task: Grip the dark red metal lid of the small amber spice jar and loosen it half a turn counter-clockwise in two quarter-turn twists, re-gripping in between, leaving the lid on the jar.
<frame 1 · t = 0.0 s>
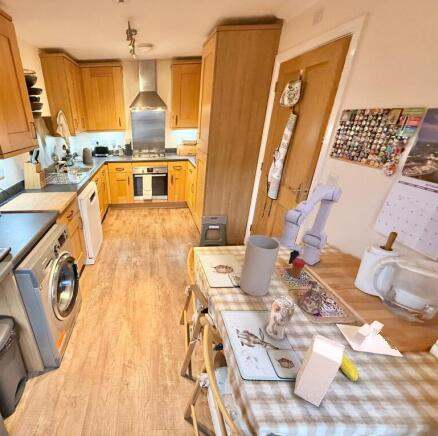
hand: (282, 259, 112), 10 cm above the table, tool pointing down, fingers open, 7 cm apart
spice jar: (294, 275, 117), on the table
cylinder vase: (252, 288, 109), on the table
figurine: (308, 307, 98), on the table
beer glass: (274, 332, 87), on the table
napkin holder: (367, 339, 84), on the table
lemon: (344, 370, 74), on the table
milk: (306, 391, 68), on the table
spice lid: (299, 261, 113), point 8 cm above the table, screwed on, not yet turned
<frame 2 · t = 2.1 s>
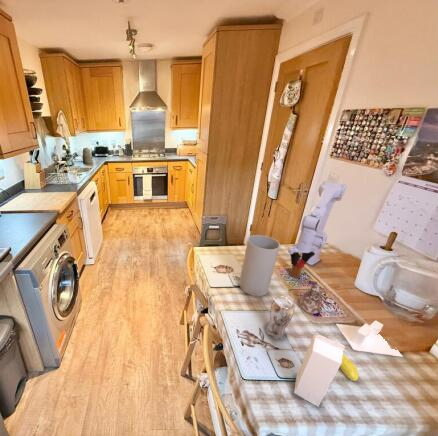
hand: (298, 264, 114), 7 cm above the table, tool pointing down, fingers closed on spice lid, 5 cm apart
spice lid: (298, 261, 113), point 8 cm above the table, screwed on, not yet turned, touching gripper
everything else where it was.
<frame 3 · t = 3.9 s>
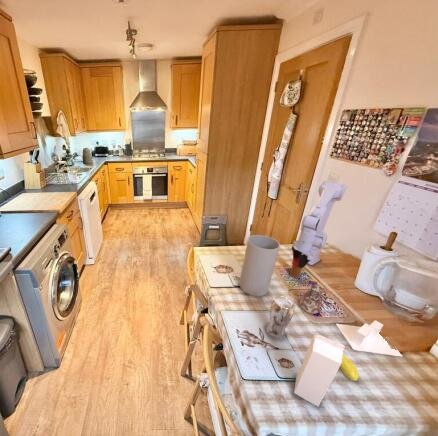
hand: (298, 263, 114), 7 cm above the table, tool pointing down, fingers closed on spice lid, 5 cm apart
spice lid: (299, 261, 113), point 9 cm above the table, turned 71° so far, risen 0.1 cm, still on its thread, touching gripper
everything else where it was.
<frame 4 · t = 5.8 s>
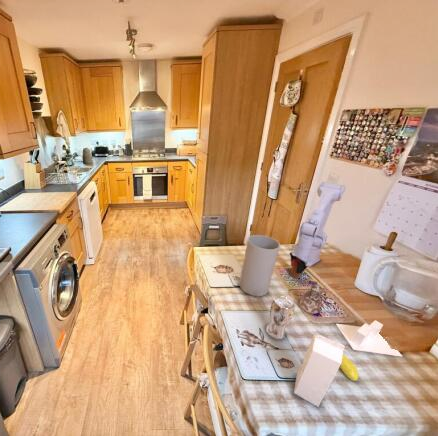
hand: (296, 269, 115), 4 cm above the table, tool pointing down, fingers closed on spice lid, 5 cm apart
spice lid: (299, 261, 113), point 9 cm above the table, turned 69° so far, risen 0.1 cm, still on its thread, touching gripper
everything else where it was.
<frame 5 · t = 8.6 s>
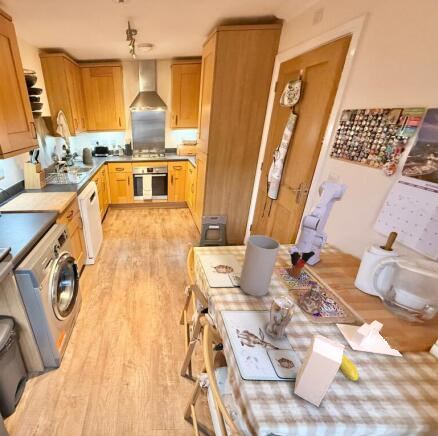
hand: (298, 263, 114), 7 cm above the table, tool pointing down, fingers closed on spice lid, 5 cm apart
spice lid: (299, 261, 113), point 9 cm above the table, turned 69° so far, risen 0.1 cm, still on its thread, touching gripper
everything else where it was.
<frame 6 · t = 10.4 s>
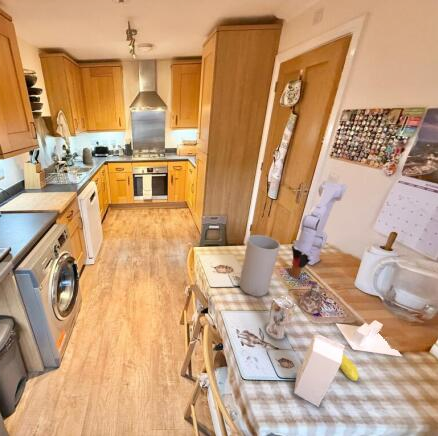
hand: (298, 263, 114), 7 cm above the table, tool pointing down, fingers closed on spice lid, 5 cm apart
spice lid: (299, 261, 113), point 9 cm above the table, turned 137° so far, risen 0.2 cm, still on its thread, touching gripper
everything else where it was.
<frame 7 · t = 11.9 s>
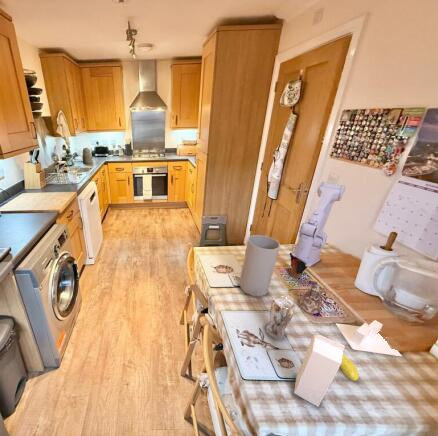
hand: (296, 270, 115), 3 cm above the table, tool pointing down, fingers closed on spice lid, 5 cm apart
spice lid: (299, 261, 113), point 9 cm above the table, turned 134° so far, risen 0.2 cm, still on its thread, touching gripper
everything else where it was.
when the fingers open (3 cm above the table, at t = 12.2 s): spice lid stays where it is, point 9 cm above the table.
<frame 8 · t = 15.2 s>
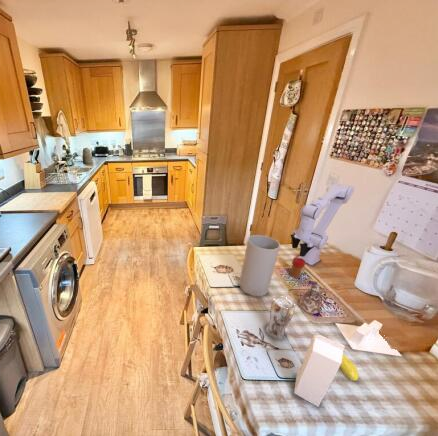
hand: (298, 251, 118), 10 cm above the table, tool pointing down, fingers open, 7 cm apart
spice lid: (299, 261, 113), point 9 cm above the table, turned 134° so far, risen 0.2 cm, still on its thread
everything else where it was.
at the end: spice lid turned 0.37 turns (still on its thread); spice lid is still on its thread (0.37 turns); spice jar tilted 0° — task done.
